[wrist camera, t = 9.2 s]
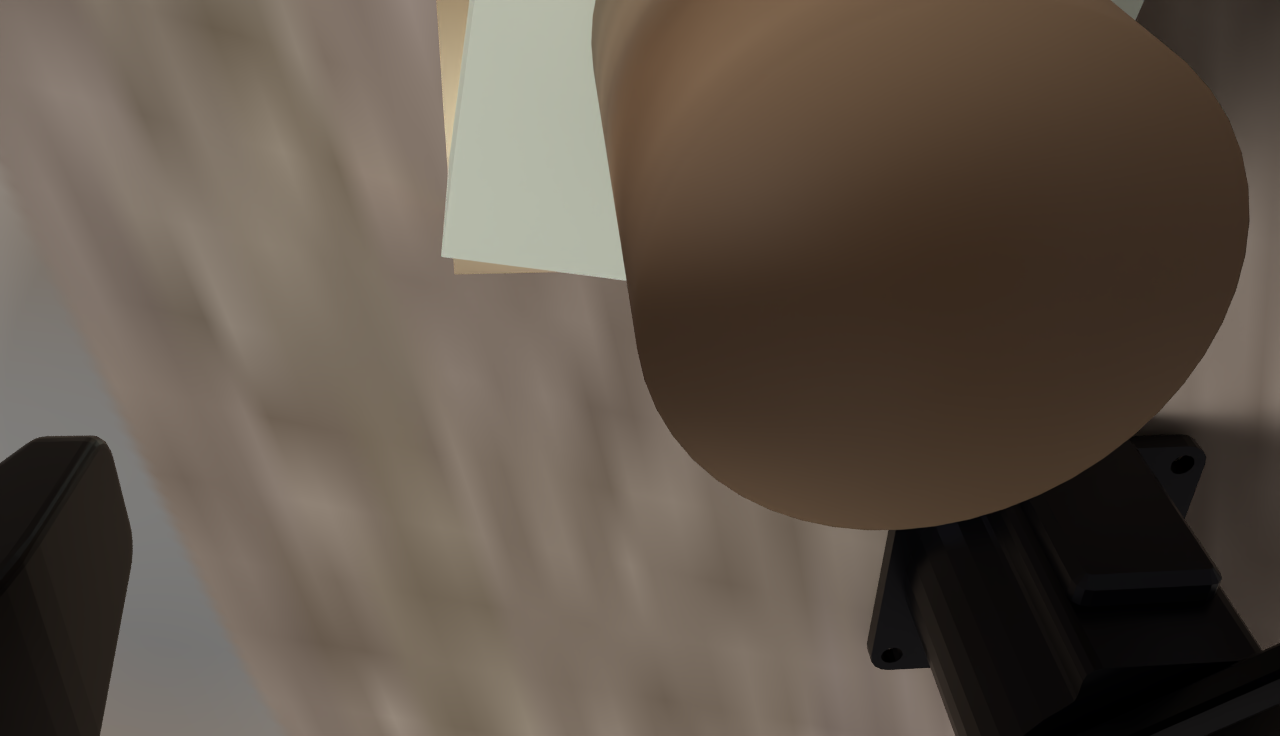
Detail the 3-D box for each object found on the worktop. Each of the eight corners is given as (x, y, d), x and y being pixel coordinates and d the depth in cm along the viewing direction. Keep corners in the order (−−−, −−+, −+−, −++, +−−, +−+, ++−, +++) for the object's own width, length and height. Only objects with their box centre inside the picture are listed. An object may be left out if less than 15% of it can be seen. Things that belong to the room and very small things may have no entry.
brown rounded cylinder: (965, 214, 16) (1160, 516, 12) (594, 228, 16) (632, 544, 11) (1038, -186, 14) (1338, -11, 9) (587, -182, 13) (637, 3, 8)
